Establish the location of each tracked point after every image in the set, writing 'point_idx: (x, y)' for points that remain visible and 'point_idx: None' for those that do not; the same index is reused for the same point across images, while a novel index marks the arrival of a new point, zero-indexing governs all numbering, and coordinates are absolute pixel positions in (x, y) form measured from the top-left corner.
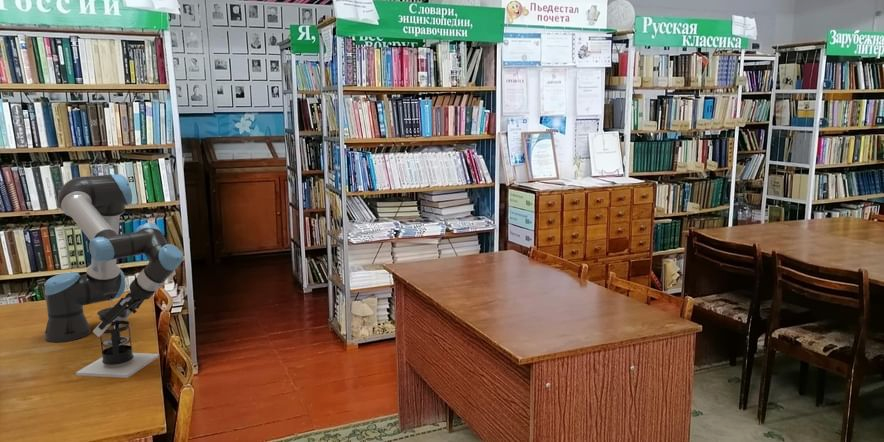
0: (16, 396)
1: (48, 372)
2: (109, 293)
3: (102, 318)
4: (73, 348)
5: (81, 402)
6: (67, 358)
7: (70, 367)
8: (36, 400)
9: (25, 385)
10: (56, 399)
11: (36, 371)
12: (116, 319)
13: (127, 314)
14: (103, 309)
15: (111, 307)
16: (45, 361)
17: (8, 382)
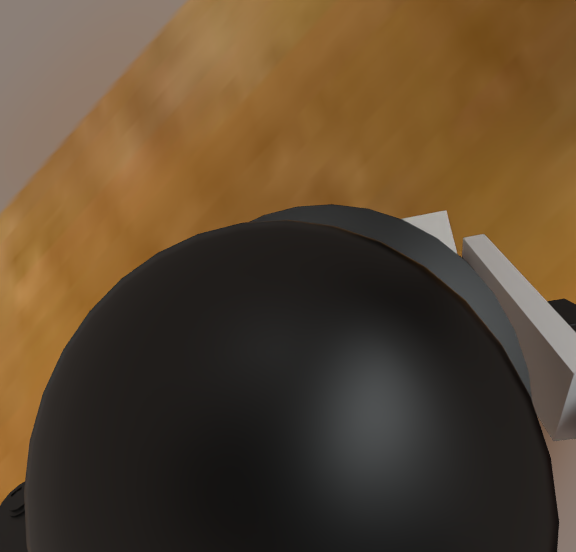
0: (28, 213)
1: (212, 134)
2: (159, 519)
3: (1, 525)
4: (444, 5)
5: (14, 487)
6: (345, 78)
7: (273, 169)
8: (10, 306)
9: (103, 161)
10: (24, 369)
11: (210, 86)
12: (473, 262)
13: (534, 391)
14: (337, 213)
15: (444, 248)
16: (295, 31)
17: (114, 87)
